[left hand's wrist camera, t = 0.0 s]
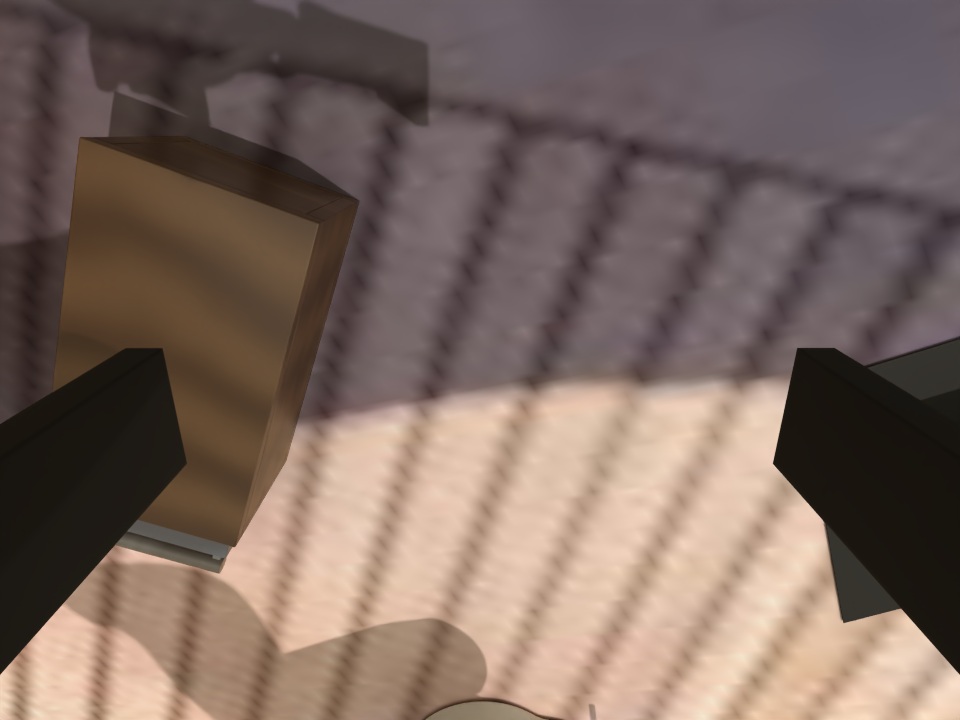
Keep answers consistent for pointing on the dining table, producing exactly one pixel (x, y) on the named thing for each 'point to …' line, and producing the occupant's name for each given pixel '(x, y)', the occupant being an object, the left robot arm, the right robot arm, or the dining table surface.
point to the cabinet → (204, 305)
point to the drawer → (175, 546)
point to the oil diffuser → (945, 387)
